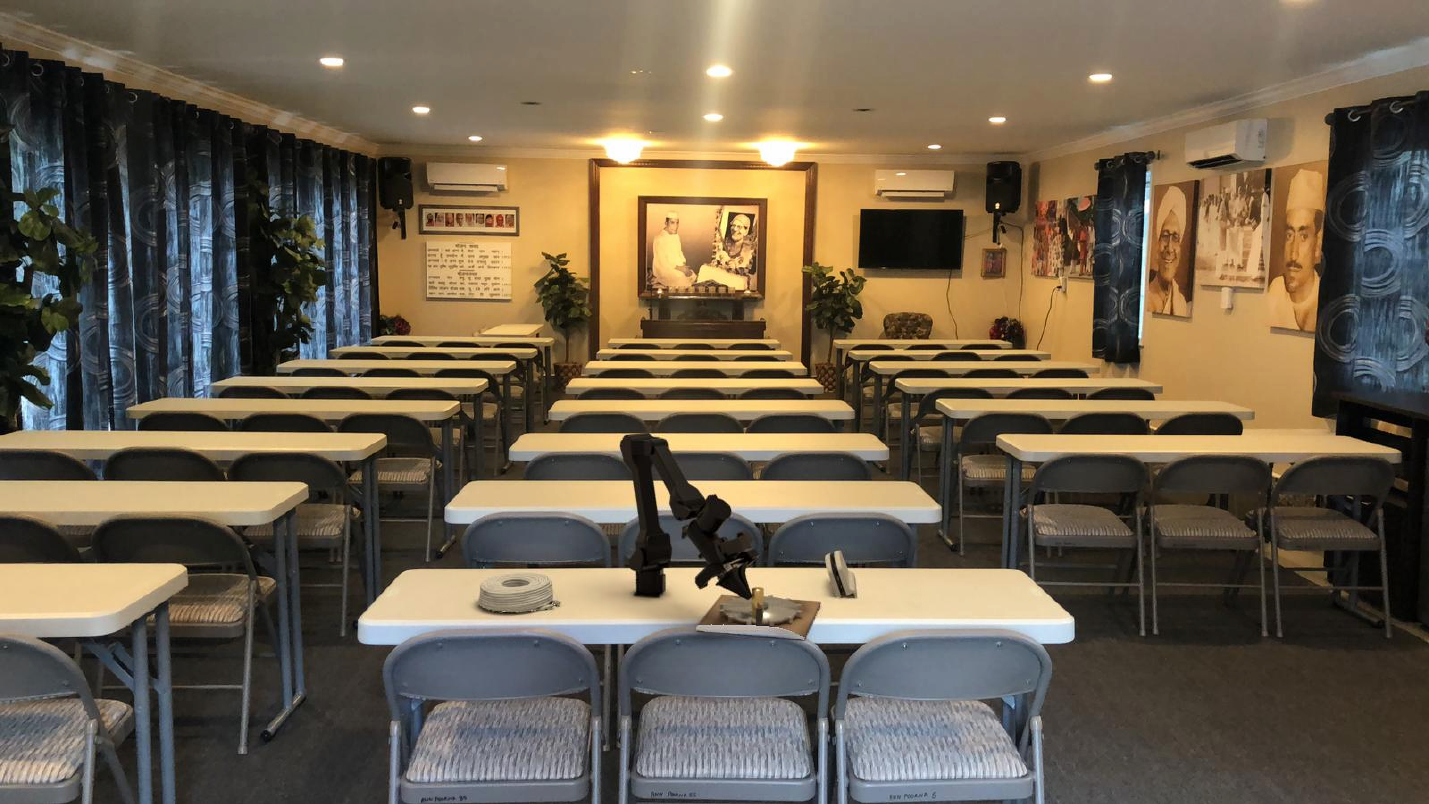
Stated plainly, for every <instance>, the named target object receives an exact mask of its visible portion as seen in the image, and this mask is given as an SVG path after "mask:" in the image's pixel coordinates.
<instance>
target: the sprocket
mask: <svg viewBox="0 0 1429 804" xmlns="http://www.w3.org/2000/svg"><path fill="white" fill-rule="evenodd" d="M764 591H765V588H763V587H761V586H760V587H759V586H756V587H752V588H751V594H752V598H751V599H749V600H746V599H744V598H737V599H736V598H730V601H728V602H727V603H720V604H719V609H721V610H719V616H725V617H726V618H728V622H731V623H732V622H738V623H743V624H747V625H756V608H757V607H758V605H761V607H762V625H769V627H772V626H774V624H781V623H785V622H787V623H793V619H795V618H796V617H802V611H799V610H802V605H801V604H795V603H793V602H791V600H792V599H791V598H783V597H782V598H781V597H776V596H774V595H772V594H768V596H767V595H764V593H765V592H764Z"/></svg>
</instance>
